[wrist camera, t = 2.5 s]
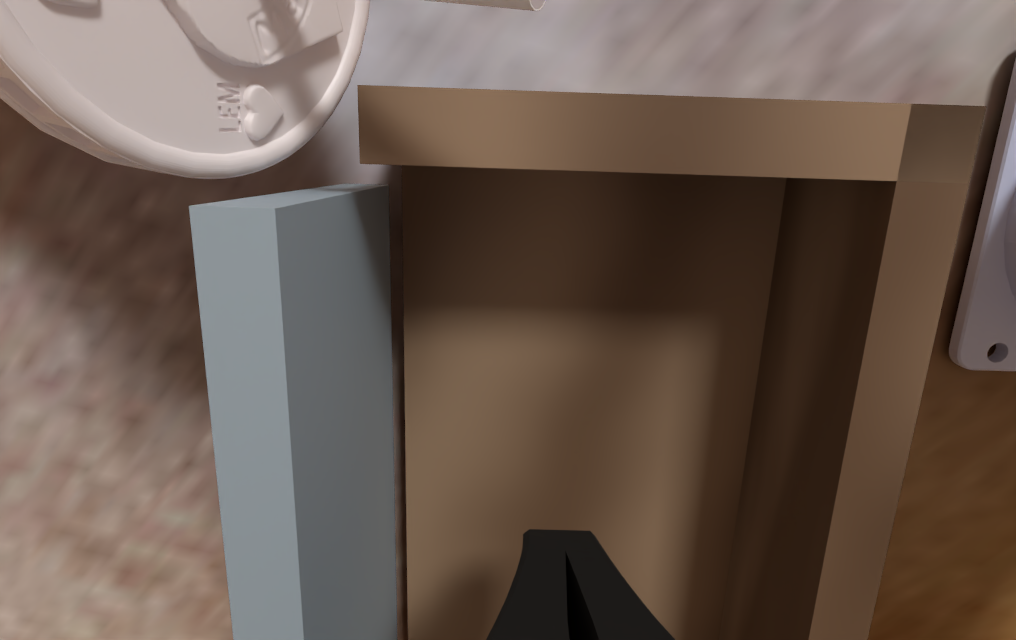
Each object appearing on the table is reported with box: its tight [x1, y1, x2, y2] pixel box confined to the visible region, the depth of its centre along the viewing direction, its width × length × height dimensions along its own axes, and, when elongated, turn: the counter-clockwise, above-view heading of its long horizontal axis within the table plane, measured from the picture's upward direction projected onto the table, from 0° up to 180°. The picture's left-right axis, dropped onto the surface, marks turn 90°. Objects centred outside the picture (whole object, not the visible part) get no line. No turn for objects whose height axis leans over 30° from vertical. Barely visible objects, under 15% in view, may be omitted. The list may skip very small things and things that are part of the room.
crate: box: [358, 85, 986, 640], centre depth 14 cm, size 10×18×5 cm, turn 178°
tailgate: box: [189, 184, 397, 640], centre depth 12 cm, size 1×14×7 cm, turn 178°
